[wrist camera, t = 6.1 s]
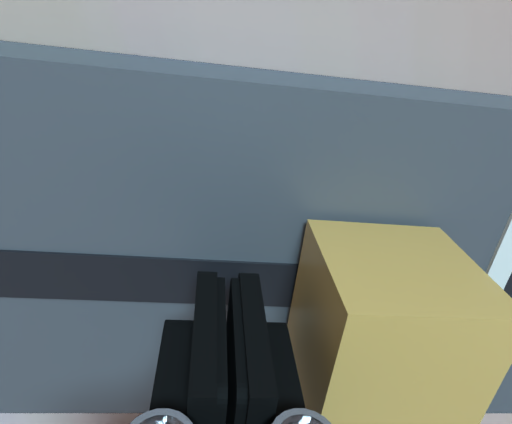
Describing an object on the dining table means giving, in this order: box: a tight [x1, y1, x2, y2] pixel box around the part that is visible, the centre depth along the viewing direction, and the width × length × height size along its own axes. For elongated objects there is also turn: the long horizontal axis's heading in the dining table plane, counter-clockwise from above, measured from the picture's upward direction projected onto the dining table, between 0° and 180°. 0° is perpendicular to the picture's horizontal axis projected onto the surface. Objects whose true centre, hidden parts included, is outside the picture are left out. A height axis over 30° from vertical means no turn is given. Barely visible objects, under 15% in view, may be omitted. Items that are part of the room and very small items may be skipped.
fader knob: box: [287, 219, 512, 424], centre depth 11 cm, size 4×5×4 cm
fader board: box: [0, 41, 512, 413], centre depth 14 cm, size 22×12×3 cm, turn 83°
